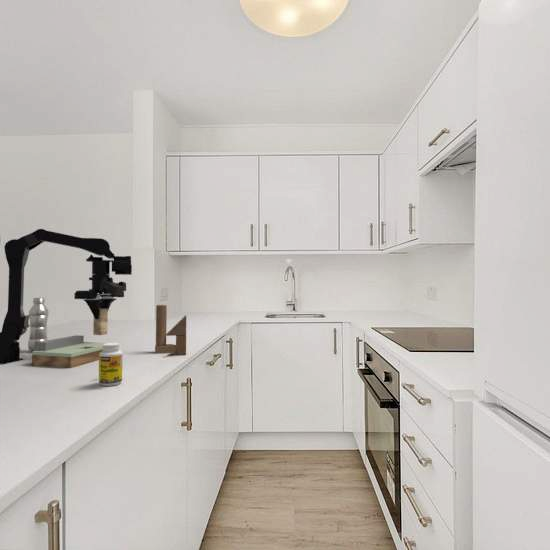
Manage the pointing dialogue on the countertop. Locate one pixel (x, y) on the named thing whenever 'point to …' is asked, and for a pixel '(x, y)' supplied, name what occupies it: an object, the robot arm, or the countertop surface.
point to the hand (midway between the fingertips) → (100, 318)
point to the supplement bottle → (110, 365)
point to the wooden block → (169, 334)
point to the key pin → (101, 323)
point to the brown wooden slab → (65, 360)
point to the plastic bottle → (37, 323)
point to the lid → (67, 347)
